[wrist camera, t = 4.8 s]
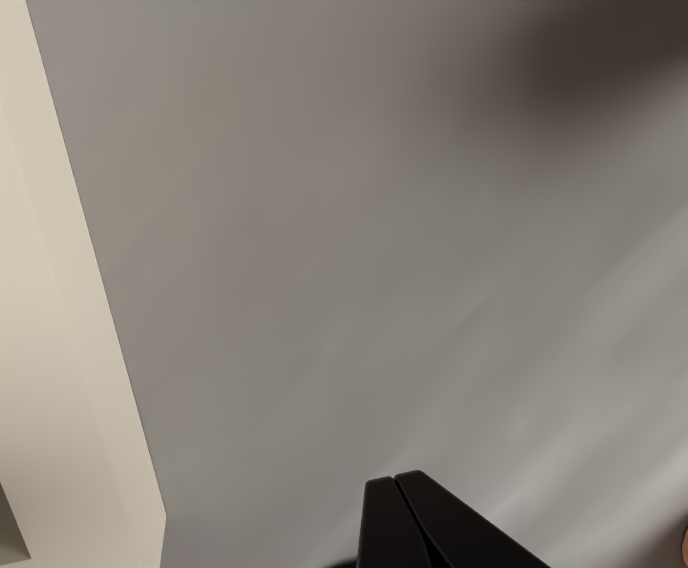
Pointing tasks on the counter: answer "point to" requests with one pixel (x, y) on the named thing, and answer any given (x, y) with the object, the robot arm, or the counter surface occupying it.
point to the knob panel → (60, 353)
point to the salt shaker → (685, 548)
